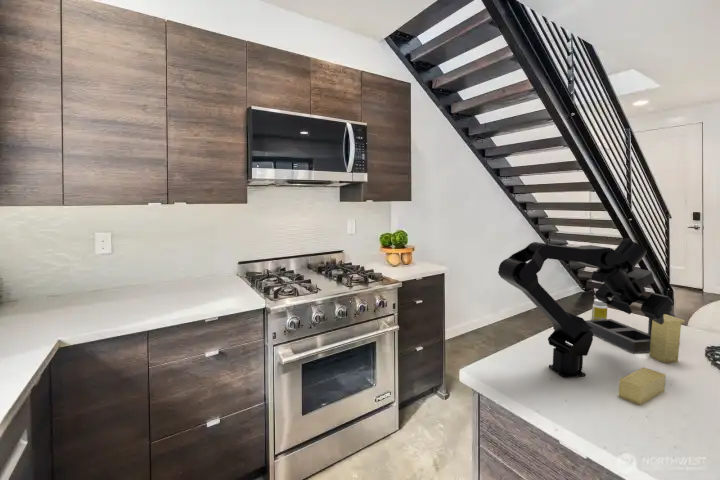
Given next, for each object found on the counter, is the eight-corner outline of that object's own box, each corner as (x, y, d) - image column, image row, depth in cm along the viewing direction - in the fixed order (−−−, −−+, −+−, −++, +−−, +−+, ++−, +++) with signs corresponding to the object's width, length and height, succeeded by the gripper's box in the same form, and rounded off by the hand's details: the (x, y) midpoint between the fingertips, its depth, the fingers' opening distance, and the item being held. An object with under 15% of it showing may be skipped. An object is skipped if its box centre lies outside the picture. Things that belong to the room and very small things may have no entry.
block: (640, 406, 82) (641, 387, 82) (618, 397, 86) (619, 379, 86) (664, 392, 88) (665, 374, 88) (642, 384, 92) (644, 367, 92)
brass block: (664, 363, 102) (667, 321, 101) (646, 355, 108) (649, 315, 106) (681, 362, 103) (684, 320, 102) (662, 354, 109) (665, 314, 107)
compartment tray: (633, 353, 109) (634, 342, 109) (583, 330, 129) (584, 320, 129) (663, 351, 111) (664, 340, 110) (609, 328, 130) (610, 318, 130)
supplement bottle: (609, 323, 135) (610, 302, 134) (596, 323, 135) (598, 302, 134) (601, 319, 140) (602, 298, 139) (588, 319, 140) (590, 298, 139)
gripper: (671, 266, 90) (700, 306, 94) (606, 255, 109) (632, 289, 112) (642, 298, 90) (673, 337, 93) (582, 281, 108) (609, 315, 111)
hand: (645, 317), depth 102 cm, fingers open, 9 cm apart
